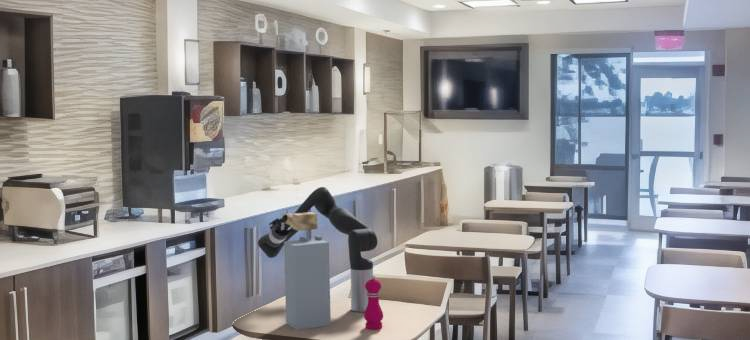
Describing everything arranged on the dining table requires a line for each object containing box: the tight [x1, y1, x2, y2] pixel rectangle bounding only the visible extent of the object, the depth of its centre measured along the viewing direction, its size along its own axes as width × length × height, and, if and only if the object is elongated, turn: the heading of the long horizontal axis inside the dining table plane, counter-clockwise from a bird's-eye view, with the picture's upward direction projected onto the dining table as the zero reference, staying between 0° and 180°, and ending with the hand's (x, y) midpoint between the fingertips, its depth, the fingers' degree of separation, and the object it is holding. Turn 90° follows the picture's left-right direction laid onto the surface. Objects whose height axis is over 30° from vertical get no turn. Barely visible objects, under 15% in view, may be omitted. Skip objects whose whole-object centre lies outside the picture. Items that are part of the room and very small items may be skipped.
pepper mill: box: [363, 274, 384, 331], centre depth 307 cm, size 7×7×20 cm
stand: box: [283, 235, 332, 331], centre depth 313 cm, size 14×11×33 cm
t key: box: [281, 211, 318, 232], centre depth 329 cm, size 8×24×6 cm, turn 26°
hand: (291, 216), depth 334 cm, fingers closed on t key, 3 cm apart
